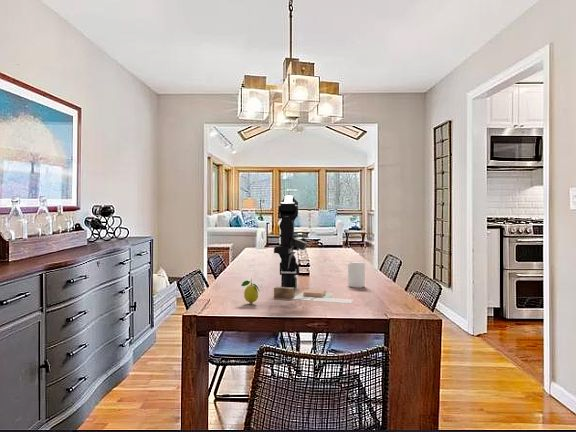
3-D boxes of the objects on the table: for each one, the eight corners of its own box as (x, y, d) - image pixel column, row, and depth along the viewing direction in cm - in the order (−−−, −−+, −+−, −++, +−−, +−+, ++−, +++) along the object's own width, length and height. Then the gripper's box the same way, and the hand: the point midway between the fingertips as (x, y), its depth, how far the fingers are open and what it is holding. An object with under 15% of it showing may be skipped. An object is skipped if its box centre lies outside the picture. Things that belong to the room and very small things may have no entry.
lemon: (240, 302, 208) (241, 277, 208) (254, 301, 210) (254, 277, 210) (246, 305, 202) (246, 280, 201) (260, 304, 204) (260, 279, 204)
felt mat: (296, 296, 222) (296, 295, 222) (303, 292, 233) (303, 291, 233) (328, 299, 218) (328, 298, 218) (334, 294, 229) (334, 293, 229)
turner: (272, 299, 216) (272, 288, 216) (277, 296, 223) (277, 285, 223) (309, 301, 212) (309, 290, 212) (313, 298, 218) (313, 288, 218)
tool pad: (312, 301, 212) (312, 300, 212) (316, 298, 220) (316, 297, 220) (350, 304, 207) (350, 303, 207) (354, 300, 215) (354, 299, 215)
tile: (308, 292, 229) (303, 296, 222) (308, 289, 229) (303, 292, 221) (325, 294, 227) (321, 297, 219) (325, 290, 227) (321, 293, 219)
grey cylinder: (364, 288, 245) (364, 263, 245) (347, 287, 247) (347, 262, 246) (365, 285, 253) (365, 261, 253) (348, 285, 255) (348, 260, 254)
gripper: (300, 233, 207) (299, 272, 208) (310, 231, 225) (310, 267, 225) (273, 232, 210) (273, 271, 211) (286, 231, 228) (285, 266, 229)
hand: (286, 268), depth 219 cm, fingers closed
